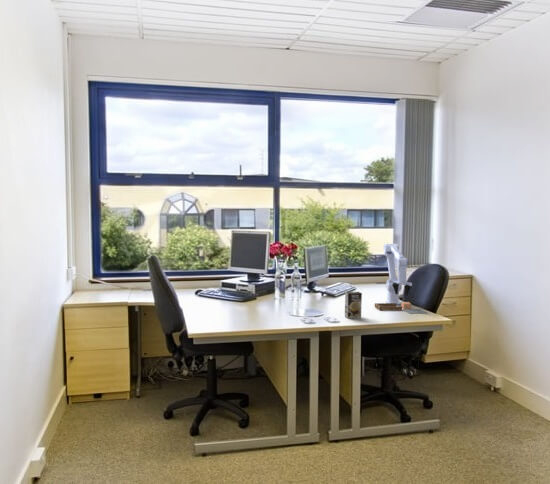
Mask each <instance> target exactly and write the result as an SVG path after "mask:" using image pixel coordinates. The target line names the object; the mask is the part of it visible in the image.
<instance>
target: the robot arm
mask: <svg viewBox="0 0 550 484" xmlns="http://www.w3.org/2000/svg"><path fill="white" fill-rule="evenodd" d="M399 249H400V246H399V244H398V243H384V245H383V254H384V255H383V256H385V257H386V261H387V269H388V276H389V278H387V280H386V284H385V285H386V286H385V288H386V290H387V291H388V292H387V297H386V301H385V303H397V305H401V303H400V301H399V299H400V293H401V291H402V290H403V289H402V285H403V287H404V295H405V297H408V296H409V291H410V290H411V288H412V286H413V282H409V281H407V267H408V265H409V259H408V257H405V256H404V255H403V253H402V252H400V251H399ZM395 262H396V264H395ZM396 269H397V272H396Z"/></svg>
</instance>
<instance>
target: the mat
mask: <svg viewBox="0 0 550 484" xmlns="http://www.w3.org/2000/svg"><path fill="white" fill-rule="evenodd" d="M402 311H405V312H407V313H408V314H410V315H411V314H428V312H427V311H425V310H423V309H421V308H411V309H402Z"/></svg>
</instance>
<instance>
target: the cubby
mask: <svg viewBox="0 0 550 484" xmlns="http://www.w3.org/2000/svg"><path fill="white" fill-rule="evenodd" d="M374 308H376V309H377V310H379V311H380V312H382V311H381V310H390V311H403V309H402V306H401V305H400V306H398V304H397V303H387V302H383V303H382V302H380V303H375V302H374Z"/></svg>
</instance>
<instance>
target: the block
mask: <svg viewBox="0 0 550 484" xmlns="http://www.w3.org/2000/svg"><path fill="white" fill-rule="evenodd" d="M400 306H402V308H403V309H412V303H411V302H409V301H402V302H401V303H400ZM403 309H402V310H403Z"/></svg>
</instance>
